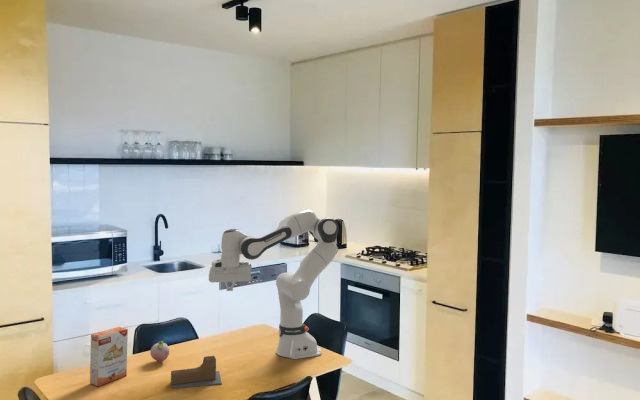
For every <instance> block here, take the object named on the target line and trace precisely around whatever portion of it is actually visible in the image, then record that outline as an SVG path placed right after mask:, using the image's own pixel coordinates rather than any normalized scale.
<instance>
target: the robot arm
mask: <svg viewBox="0 0 640 400" xmlns="http://www.w3.org/2000/svg"><path fill="white" fill-rule="evenodd" d="M308 232H309V234H310V235H311V236H312V237H313V238H314V239H315V240H316V241H318V242H317V243H316V246H315V247H314V248H312V249H311V251H309V253H307V254H306V256H305V257H304V258H303V259H301V261H300V264H299V266H298V268H297V270H296V272H295V273H292V272H281V273H279V275H277V277H276V280H275V285H276V288H277V295H278V302H279V306H280V308H279V310H280V314H279V315H280V317H279V318H280V320H279V325H278V336H279V337H278V342H277V343H278V344H277V347H276V351H275V353H276V355H278V356H279V357H284V358H287V359H288V358H289V359H291V360H298V359H299V360H300V359H305V358H310V357H318V356H321V355H323V354H322V349H321V348H320V347H319V346H318V344H317V340H316V339H315V337H314V336H313V335H311V334H310V333H309V332H308V331H309V330H310V328H309V327H308V326H307V325H306V324H304V323H303V320H304V319H303V316H304V314H303V312H304V310H303V306H302V302H301V301H304V300H306V299H307V298H308V296H310V293H311V292H310V291H311V287H312V286H313V284H314V282H315V280H316V279H317V278H318V277H319V276H320V274H321V273H322V272H323V271H324V270H325V269H326V268H327V267H328V266H329V264H330V263H331V262H332V261H333V260H334V258H335V257H336V256H337V253H338V252H339V247H338V246H337V244H336V242H335V241H336V240H337V236H338V233H339V223H338V222H337V221H336V220H335V219H333V218H332V217H324V218H321V219H320V218H318V217H317V215H316V214H315V212H314V211H313V210H311V209H305V210H301V211H298V212H295V213H292V214H290V215H288V216H286V217H284V218H283V219H282V220H280V222H279V224H278V227H276V229H275V230H274V231H272V232H269V233H268V234H265V235H263V236H261V237H255V236H252V235H249V234H246V233H244V232H242V231H241V230H240V229H237V228H231V229H227V230H225V231H223V232H222V236H221V244H220V245H221V246H220V247H221V255H220V258H218V259H215V260H212V261H211V267H210V268H209V272H208V282H210V283H224V285H225V287H226V292H233V291H234V287H235V285H236V283H237V282H250V281H251V280H252V275H251V274H252V273H251V272H252V264H251V263H250V262H249V261H248V262H247V261H245V262H243V261H240V256H241V255H242V256H243V257H244V258H246V259H247V260H250V261H251V260H252V261H253V260H256V259H259V258H260V257H261V256H262V255H263V253H264V252H266V251H267V250H268V249H270V248H273V247H276V245H279V244H281V243H283V242H284V241H287V240H290V239H293V238H296V237H298V236H300V235H303V234H305V233H308ZM229 283H232V285H231V286H228V284H229Z"/></svg>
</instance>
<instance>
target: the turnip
mask: <svg viewBox="0 0 640 400" xmlns="http://www.w3.org/2000/svg"><path fill="white" fill-rule="evenodd" d="M169 355H170V348H169V346H168V344H167V343H166V342H164V341H162V340H159V341H158V342H157V343H155V344H153V345H152V346H151V347H150V356H151V358H152V359H153V360H155V361H156V362H159V363H162V362H164V361H165V360H167V358H168V357H169Z"/></svg>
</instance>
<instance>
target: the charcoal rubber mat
mask: <svg viewBox="0 0 640 400" xmlns="http://www.w3.org/2000/svg"><path fill="white" fill-rule="evenodd" d="M222 384H223V382H222V378H221V375H220V371H219V370H216V379H215V380H207V381H199V382H191V383H183V384H175V385H172V384H171V389H172V390H173V389H184V388H196V387H207V386H208V387H209V386H217V385H218V386H219V385H222Z"/></svg>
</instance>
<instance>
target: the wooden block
mask: <svg viewBox="0 0 640 400" xmlns="http://www.w3.org/2000/svg"><path fill="white" fill-rule="evenodd" d="M216 371H217V359H216V356H215V355H207V356H204V357H203V361H202V363H201V364H200V365H199V366H197V367H194V368H185V369H177V370H176V369H175V370H171V371H170V382H171V386H172V385H175V384H183V383H191V382H199V381H207V380H215V379H216Z"/></svg>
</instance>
